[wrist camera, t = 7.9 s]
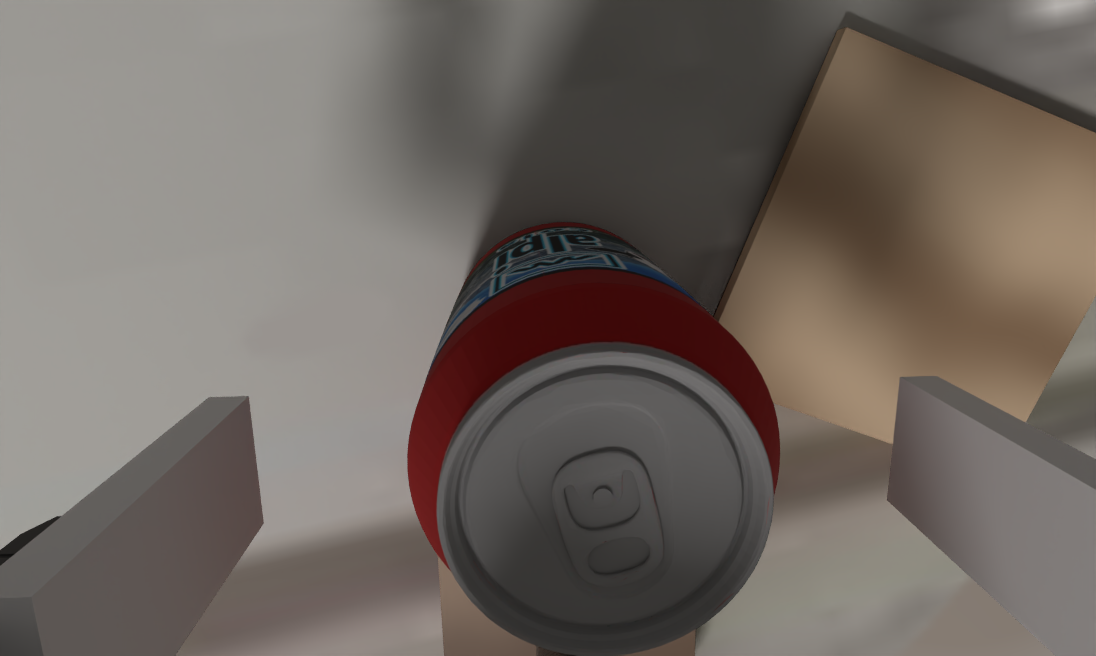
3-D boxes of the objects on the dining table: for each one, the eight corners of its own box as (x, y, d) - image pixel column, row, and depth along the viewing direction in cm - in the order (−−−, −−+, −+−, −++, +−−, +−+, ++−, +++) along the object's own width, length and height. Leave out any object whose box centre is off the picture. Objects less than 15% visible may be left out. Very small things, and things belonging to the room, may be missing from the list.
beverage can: (640, 192, 22) (778, 249, 10) (687, 393, 24) (849, 637, 12) (426, 250, 22) (328, 371, 11) (488, 447, 24) (461, 736, 12)
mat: (837, 30, 21) (846, 27, 20) (1151, 163, 22) (1168, 163, 22) (690, 370, 23) (695, 375, 23) (982, 471, 25) (994, 479, 24)
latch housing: (444, 492, 24) (436, 531, 22) (681, 483, 24) (699, 521, 22) (456, 693, 26) (450, 749, 24) (675, 682, 27) (691, 737, 24)
